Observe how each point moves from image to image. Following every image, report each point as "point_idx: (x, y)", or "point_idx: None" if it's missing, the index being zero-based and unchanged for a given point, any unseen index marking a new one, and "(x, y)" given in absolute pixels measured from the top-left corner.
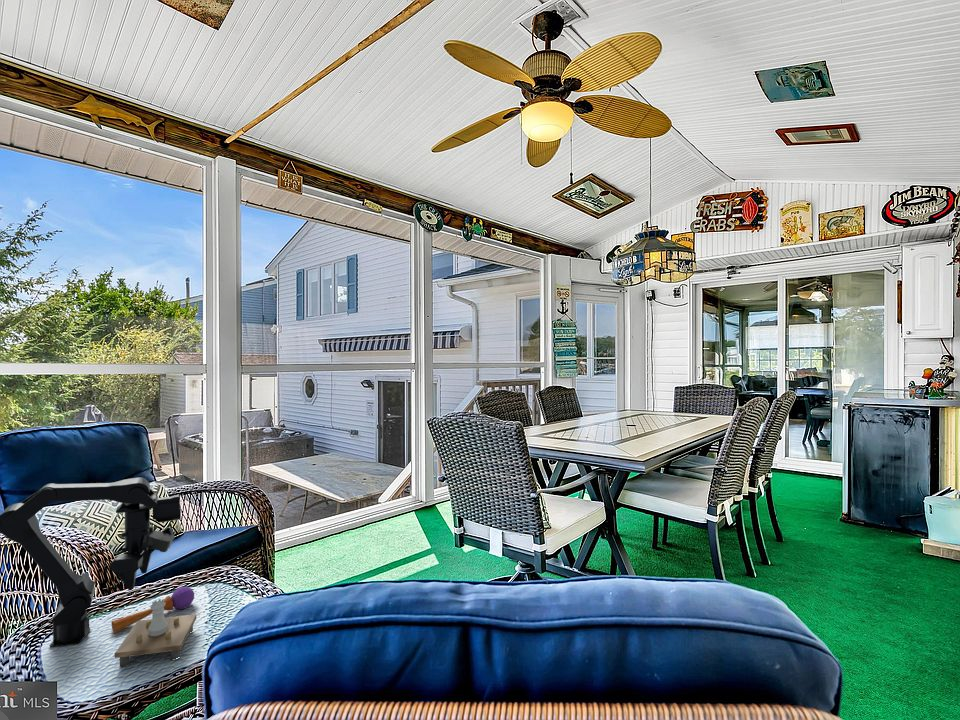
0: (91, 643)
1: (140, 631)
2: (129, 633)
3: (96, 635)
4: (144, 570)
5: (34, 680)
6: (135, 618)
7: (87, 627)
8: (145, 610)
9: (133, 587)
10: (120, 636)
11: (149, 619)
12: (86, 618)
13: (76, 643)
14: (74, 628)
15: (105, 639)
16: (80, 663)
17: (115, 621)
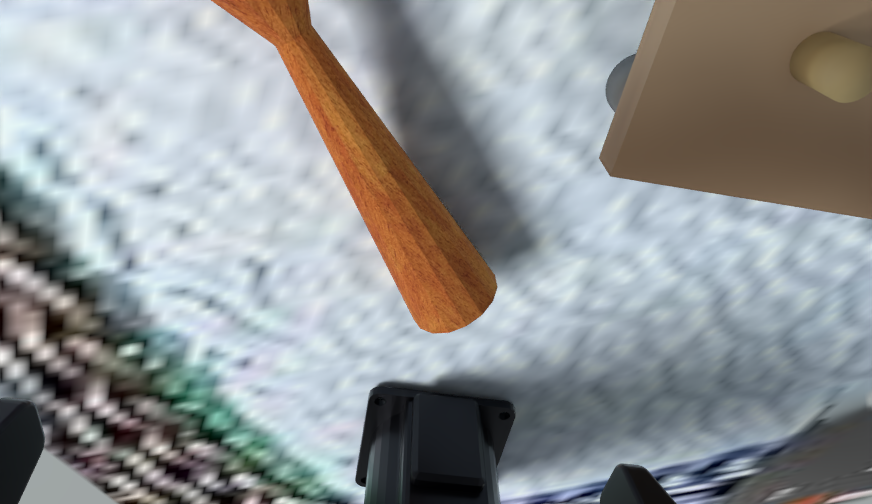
0: (534, 352)
1: (856, 120)
2: (816, 202)
3: (448, 347)
4: (4, 462)
5: (751, 471)
6: (423, 189)
7: (445, 427)
8: (338, 135)
9: (656, 485)
10: (530, 228)
11: (652, 72)
12: (439, 483)
13: (513, 413)
14: (494, 492)
15: (524, 299)
16: (731, 356)
17: (461, 314)
